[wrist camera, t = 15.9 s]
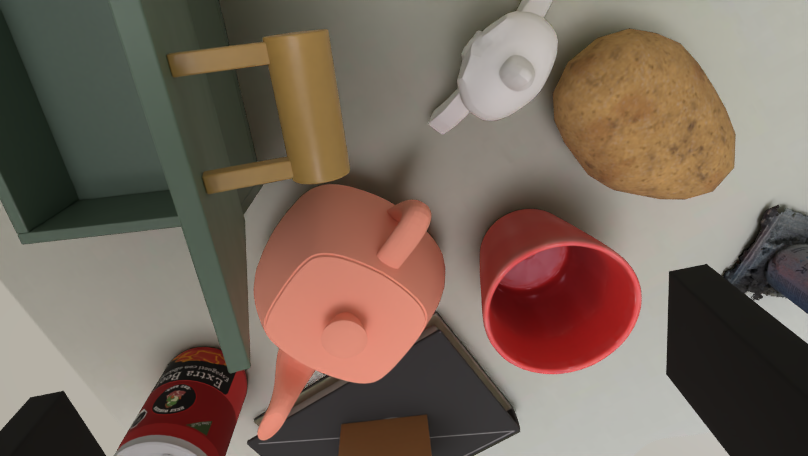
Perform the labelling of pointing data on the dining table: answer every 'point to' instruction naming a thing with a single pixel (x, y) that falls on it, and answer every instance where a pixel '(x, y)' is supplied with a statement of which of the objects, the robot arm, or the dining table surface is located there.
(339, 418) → the book
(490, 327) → the flower pot
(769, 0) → the dining table surface
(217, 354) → the canned food
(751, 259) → the beverage can
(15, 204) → the bin
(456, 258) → the dining table surface
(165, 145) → the bin lid
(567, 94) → the potato
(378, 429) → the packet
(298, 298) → the teapot
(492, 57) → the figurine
